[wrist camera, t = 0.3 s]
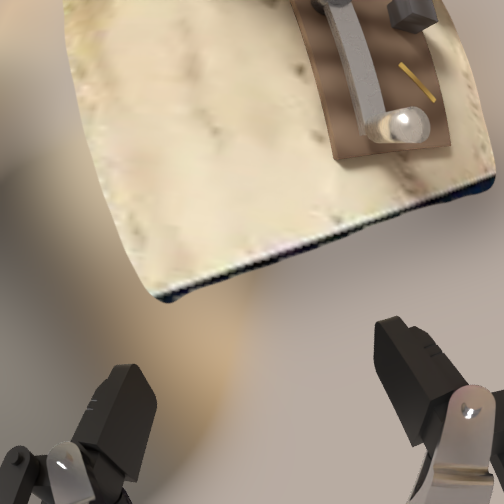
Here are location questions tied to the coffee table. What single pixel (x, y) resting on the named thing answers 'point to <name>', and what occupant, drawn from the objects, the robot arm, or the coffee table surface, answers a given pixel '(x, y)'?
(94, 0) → the coffee table surface
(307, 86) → the coffee table surface
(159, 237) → the coffee table surface
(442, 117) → the brown board
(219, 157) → the coffee table surface
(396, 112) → the lever
